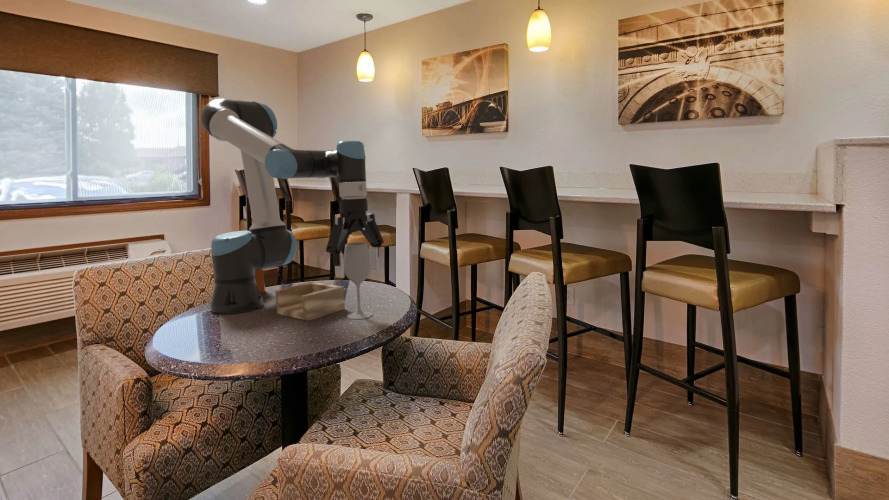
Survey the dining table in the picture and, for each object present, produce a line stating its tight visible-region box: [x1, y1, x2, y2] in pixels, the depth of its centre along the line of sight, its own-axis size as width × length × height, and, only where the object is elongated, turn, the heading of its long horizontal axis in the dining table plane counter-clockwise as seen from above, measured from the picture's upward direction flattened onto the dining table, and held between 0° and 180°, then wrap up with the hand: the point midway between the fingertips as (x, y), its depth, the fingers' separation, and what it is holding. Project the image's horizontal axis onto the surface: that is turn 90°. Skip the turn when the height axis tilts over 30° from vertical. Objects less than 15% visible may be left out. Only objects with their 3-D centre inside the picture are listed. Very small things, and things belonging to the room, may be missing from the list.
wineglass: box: [343, 241, 373, 320], centre depth 143 cm, size 8×8×21 cm
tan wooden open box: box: [274, 281, 346, 322], centre depth 150 cm, size 14×14×7 cm
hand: (357, 273), depth 142 cm, fingers open, 13 cm apart
